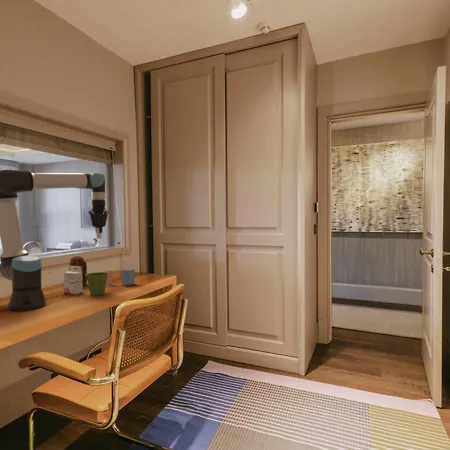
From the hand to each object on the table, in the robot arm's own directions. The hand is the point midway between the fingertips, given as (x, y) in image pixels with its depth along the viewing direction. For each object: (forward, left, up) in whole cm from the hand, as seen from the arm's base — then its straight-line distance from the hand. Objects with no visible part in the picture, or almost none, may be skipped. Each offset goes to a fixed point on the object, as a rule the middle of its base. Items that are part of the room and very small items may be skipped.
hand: (99, 238), depth 187 cm
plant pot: (-16, -11, -30) cm, 35 cm away
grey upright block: (+9, -14, -28) cm, 33 cm away
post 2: (+9, -14, -29) cm, 34 cm away
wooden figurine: (0, +16, -30) cm, 34 cm away
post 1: (+5, -3, -29) cm, 30 cm away
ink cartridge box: (-17, +4, -30) cm, 34 cm away
